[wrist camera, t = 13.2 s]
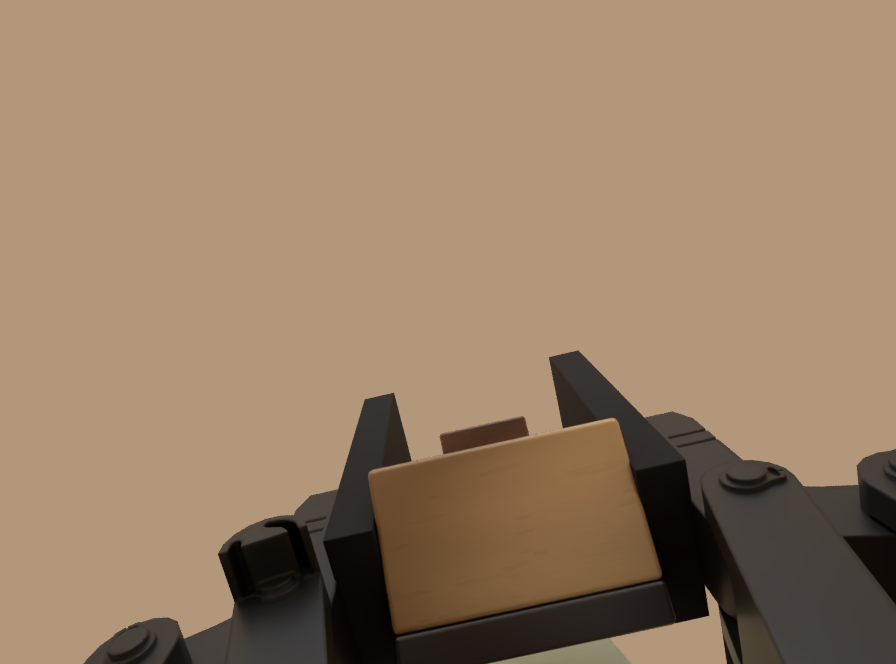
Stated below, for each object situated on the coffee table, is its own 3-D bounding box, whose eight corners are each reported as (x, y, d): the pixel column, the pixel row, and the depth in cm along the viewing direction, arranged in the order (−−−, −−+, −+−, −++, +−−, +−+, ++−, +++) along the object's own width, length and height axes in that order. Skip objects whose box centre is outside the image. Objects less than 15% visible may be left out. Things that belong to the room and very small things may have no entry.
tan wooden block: (400, 683, 9) (346, 349, 10) (464, 573, 26) (441, 455, 27) (678, 624, 9) (583, 297, 10) (557, 553, 26) (529, 436, 27)
